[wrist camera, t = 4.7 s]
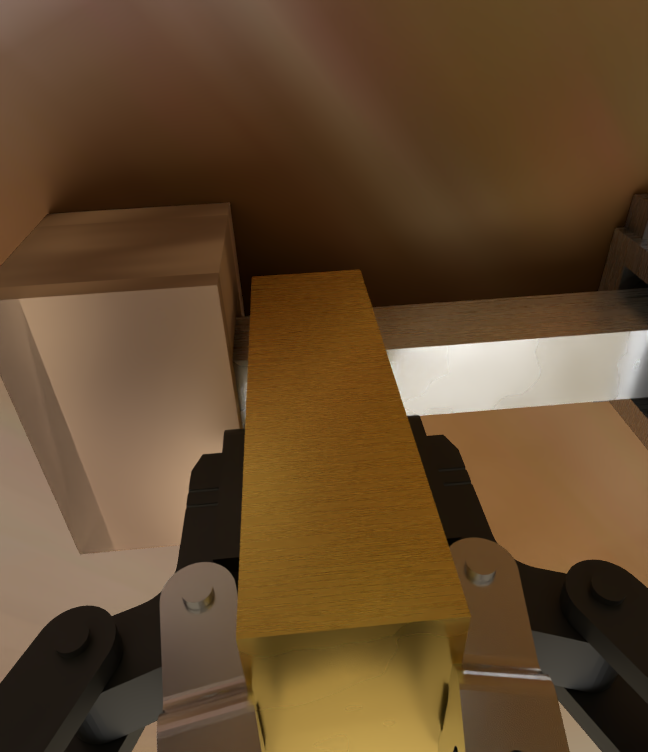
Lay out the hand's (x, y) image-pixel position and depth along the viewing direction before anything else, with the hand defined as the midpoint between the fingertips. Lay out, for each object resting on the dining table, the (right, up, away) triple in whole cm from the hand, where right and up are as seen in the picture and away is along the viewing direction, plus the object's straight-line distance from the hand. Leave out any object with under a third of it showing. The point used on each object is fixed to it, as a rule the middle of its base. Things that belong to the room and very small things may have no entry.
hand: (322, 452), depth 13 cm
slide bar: (+4, +3, +4) cm, 6 cm away
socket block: (-5, +3, +5) cm, 8 cm away
